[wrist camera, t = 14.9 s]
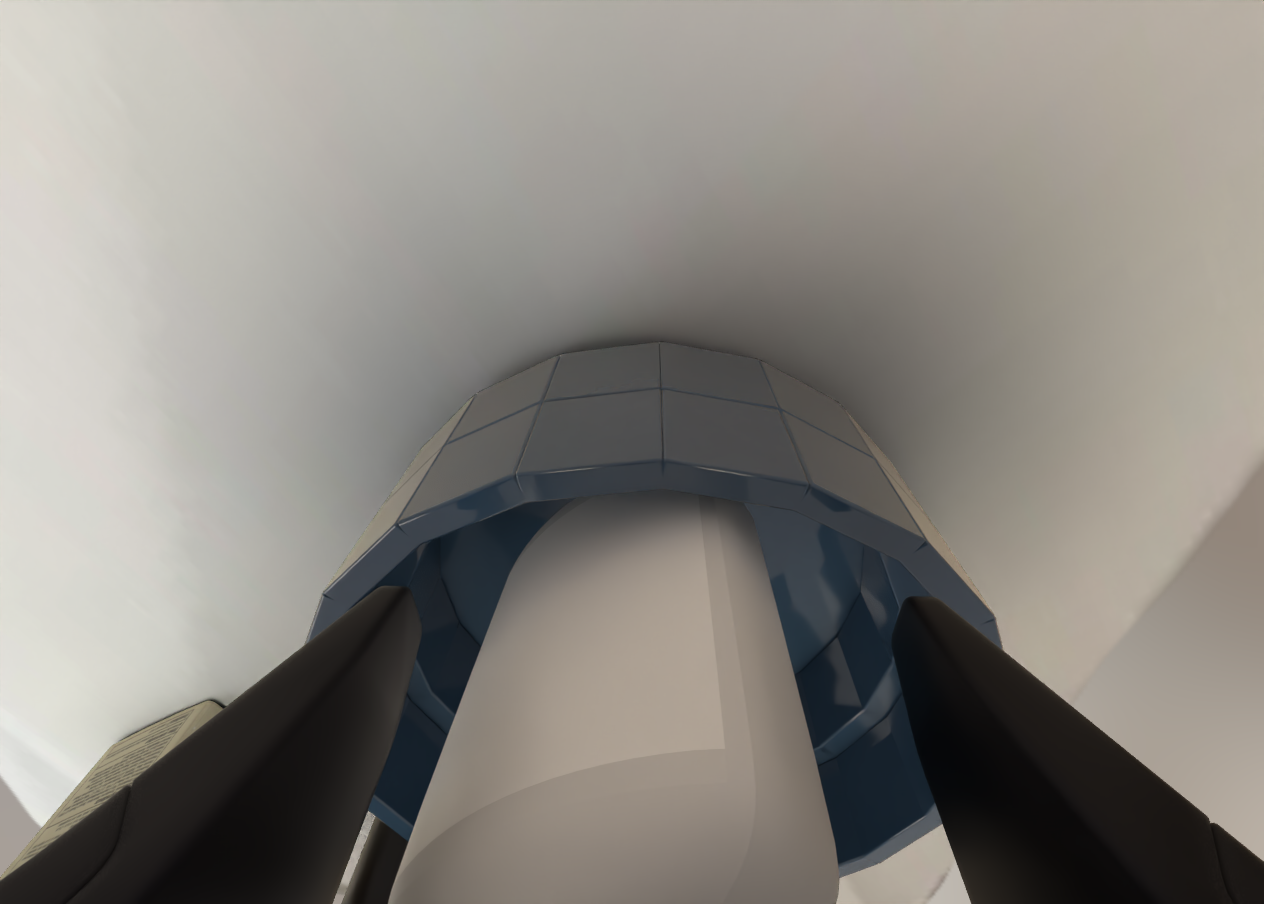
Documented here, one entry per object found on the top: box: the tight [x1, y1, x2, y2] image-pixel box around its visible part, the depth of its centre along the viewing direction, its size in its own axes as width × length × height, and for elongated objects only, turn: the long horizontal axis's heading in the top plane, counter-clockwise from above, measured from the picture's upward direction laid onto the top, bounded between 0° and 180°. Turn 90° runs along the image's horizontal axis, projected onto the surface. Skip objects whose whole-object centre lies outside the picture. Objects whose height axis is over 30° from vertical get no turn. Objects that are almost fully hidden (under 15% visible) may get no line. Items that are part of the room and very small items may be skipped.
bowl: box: [304, 342, 1004, 878], centre depth 16 cm, size 15×15×6 cm
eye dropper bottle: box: [388, 489, 839, 904], centre depth 8 cm, size 4×6×12 cm
